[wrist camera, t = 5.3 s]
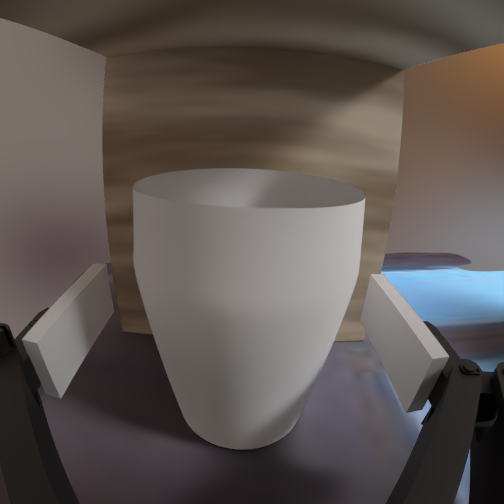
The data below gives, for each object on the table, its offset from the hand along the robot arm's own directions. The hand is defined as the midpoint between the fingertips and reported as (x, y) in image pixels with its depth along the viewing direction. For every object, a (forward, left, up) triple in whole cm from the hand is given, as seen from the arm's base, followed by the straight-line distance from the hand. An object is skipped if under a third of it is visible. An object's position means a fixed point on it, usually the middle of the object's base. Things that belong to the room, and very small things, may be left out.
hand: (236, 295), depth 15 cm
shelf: (-1, +1, -6) cm, 7 cm away
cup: (-1, +1, -7) cm, 7 cm away
